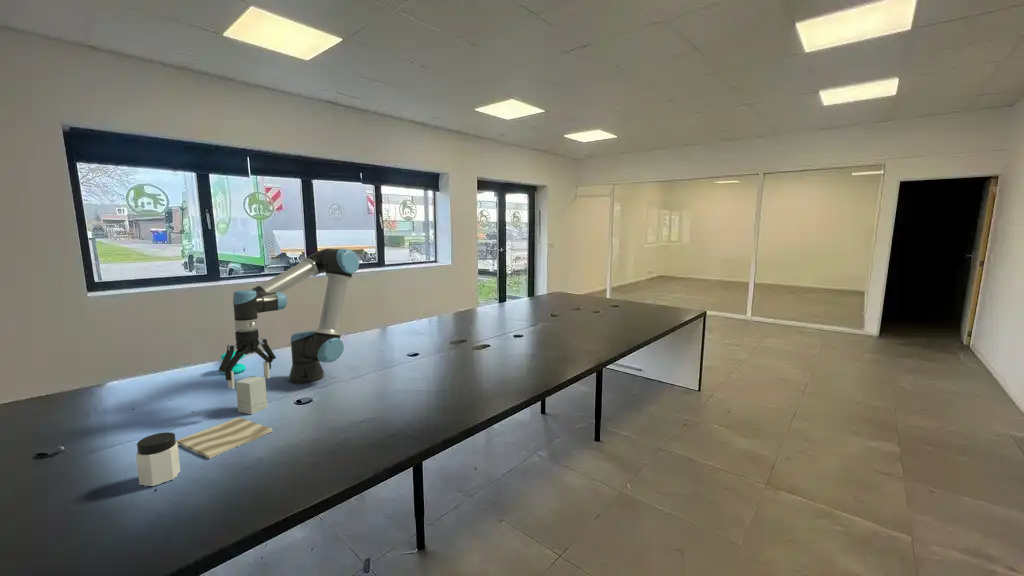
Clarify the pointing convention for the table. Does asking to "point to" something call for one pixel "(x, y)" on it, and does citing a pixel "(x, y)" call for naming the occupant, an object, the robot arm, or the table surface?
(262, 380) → the supplement box
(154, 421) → the table surface
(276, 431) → the table surface
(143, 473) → the jar
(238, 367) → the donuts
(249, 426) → the birch board
